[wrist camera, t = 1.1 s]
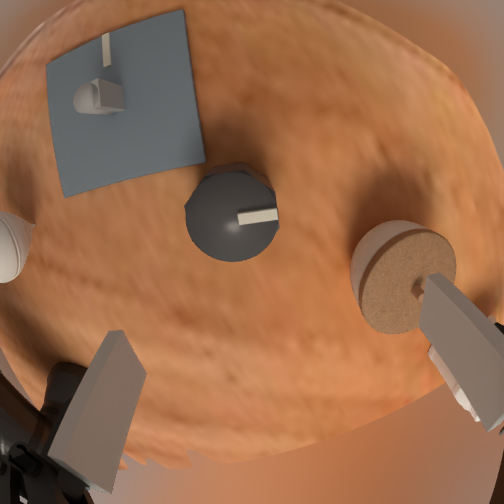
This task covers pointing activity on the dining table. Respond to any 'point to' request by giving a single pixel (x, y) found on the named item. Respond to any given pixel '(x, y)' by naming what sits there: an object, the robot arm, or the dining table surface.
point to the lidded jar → (397, 273)
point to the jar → (451, 382)
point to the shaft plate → (125, 105)
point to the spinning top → (13, 245)
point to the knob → (232, 213)
